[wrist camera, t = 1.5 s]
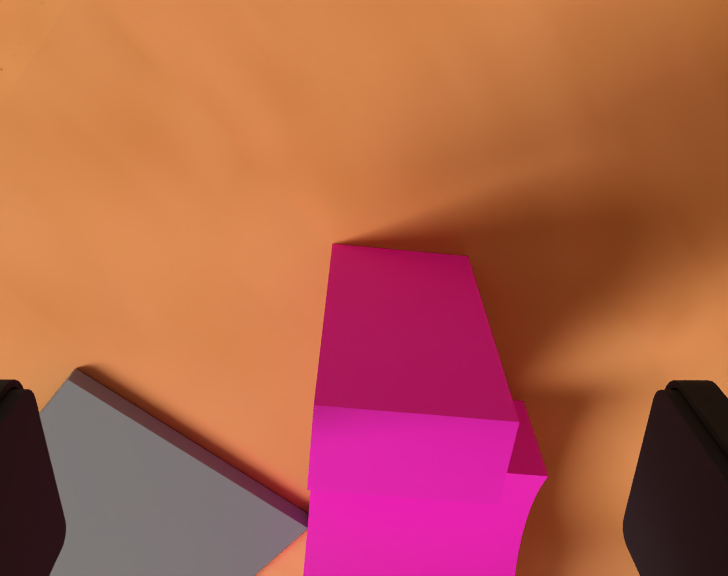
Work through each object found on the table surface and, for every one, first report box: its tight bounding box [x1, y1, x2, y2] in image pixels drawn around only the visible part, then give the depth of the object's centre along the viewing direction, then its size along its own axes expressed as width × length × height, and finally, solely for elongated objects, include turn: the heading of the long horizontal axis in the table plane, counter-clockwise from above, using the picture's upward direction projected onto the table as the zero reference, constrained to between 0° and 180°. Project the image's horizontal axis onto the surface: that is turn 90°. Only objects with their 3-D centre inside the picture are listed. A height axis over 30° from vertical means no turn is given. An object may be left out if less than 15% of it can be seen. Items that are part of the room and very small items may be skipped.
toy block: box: [303, 244, 548, 576], centre depth 19 cm, size 15×6×8 cm, turn 174°
